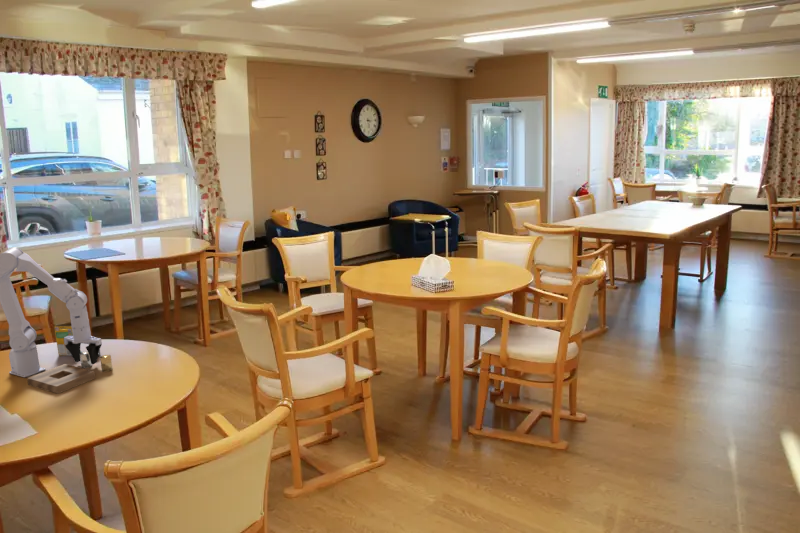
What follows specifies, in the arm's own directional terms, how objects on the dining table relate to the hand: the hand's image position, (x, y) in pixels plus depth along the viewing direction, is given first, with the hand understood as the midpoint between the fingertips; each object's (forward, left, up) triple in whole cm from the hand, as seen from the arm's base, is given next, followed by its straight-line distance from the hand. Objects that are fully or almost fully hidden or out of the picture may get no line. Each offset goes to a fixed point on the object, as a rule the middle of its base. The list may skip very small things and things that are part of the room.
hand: (86, 362), depth 248 cm
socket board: (+5, -13, -1) cm, 14 cm away
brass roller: (+10, +1, -1) cm, 10 cm away
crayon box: (-17, +5, -2) cm, 18 cm away
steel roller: (0, 0, -2) cm, 2 cm away
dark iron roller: (-6, +8, -2) cm, 10 cm away
